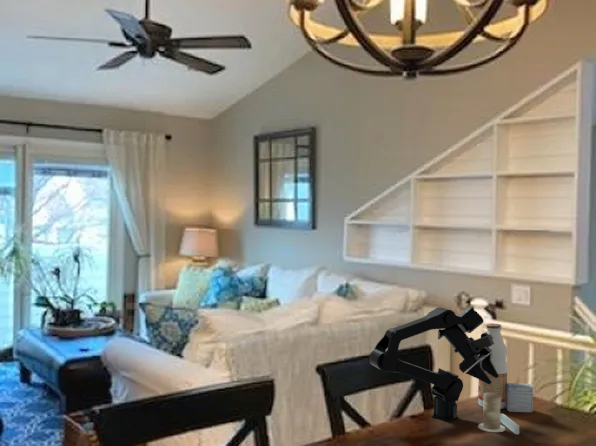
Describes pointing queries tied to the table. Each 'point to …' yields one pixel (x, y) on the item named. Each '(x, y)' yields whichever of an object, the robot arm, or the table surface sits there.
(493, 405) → the birch cylinder
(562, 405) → the table surface
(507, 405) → the medicine box
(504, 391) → the fruit juice
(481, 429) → the pad
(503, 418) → the acrylic wall
